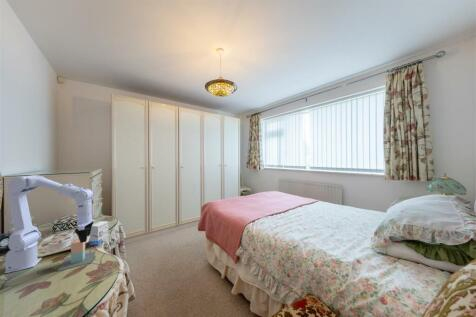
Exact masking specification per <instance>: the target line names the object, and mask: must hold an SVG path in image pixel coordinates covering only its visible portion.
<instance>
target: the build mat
mask: <svg viewBox="0 0 476 317" xmlns="http://www.w3.org/2000/svg"><path fill="white" fill-rule="evenodd" d="M95 254H96V251H91V252H87V253H85V258H84V260H83V261H81V262H77V263H73V264H71V256H69V257H66V258H65V259H64V261H63V262H62V264H61V265H60V266H59V268H58V270H57V272H59V271H60V272H61V271H64V270H68V269H72V268H76V267H80V266H85V265H89V264H91V263H92V262H93V258H94V256H95Z"/></svg>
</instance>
